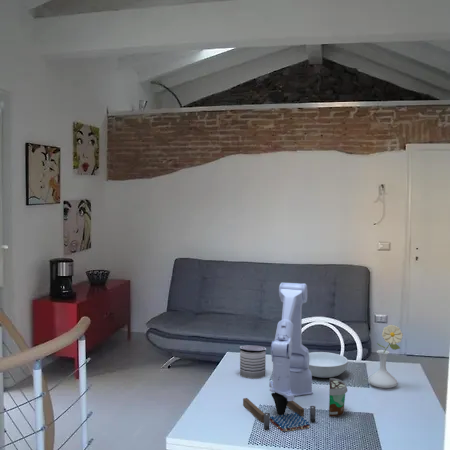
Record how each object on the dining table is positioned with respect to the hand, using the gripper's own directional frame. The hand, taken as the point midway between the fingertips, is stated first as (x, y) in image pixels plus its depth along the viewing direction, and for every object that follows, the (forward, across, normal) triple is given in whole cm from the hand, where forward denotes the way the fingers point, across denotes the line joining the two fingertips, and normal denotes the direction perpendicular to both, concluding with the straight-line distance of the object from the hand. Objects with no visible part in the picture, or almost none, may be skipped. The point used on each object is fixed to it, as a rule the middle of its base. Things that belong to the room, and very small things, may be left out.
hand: (280, 414), depth 180 cm
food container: (+1, +3, +21) cm, 21 cm away
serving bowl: (+1, -34, +37) cm, 51 cm away
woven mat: (+2, +6, 0) cm, 6 cm away
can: (+1, -44, +9) cm, 45 cm away
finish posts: (+1, +7, 0) cm, 7 cm away
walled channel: (+1, -6, 0) cm, 6 cm away
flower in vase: (+1, -13, +53) cm, 55 cm away
